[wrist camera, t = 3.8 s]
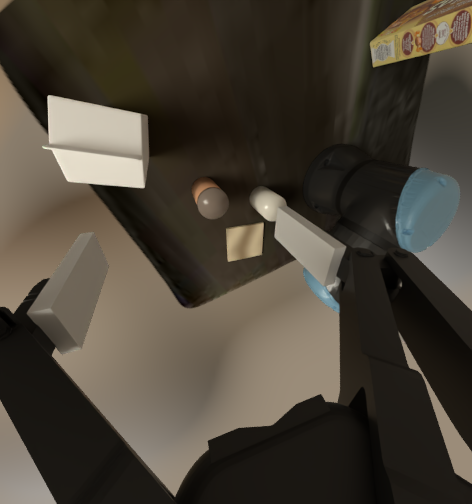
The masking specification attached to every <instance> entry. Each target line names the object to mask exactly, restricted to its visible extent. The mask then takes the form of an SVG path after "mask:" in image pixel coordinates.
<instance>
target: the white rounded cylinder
mask: <svg viewBox="0 0 472 504" xmlns="http://www.w3.org/2000/svg"><path fill="white" fill-rule="evenodd" d="M249 201H250V204H251V206H252V207H253V208H255V209H256V210H257V211H258V212H259V213H260V214H261V215H262V216H263V217H264V218H265V219H267V220H268V221H276V218H277V209H278V207H281V206H287V205H286V201H285V199H284V198H282V197H281V196H279V195H278V194H276V193H274V192H273V191H271V190H270V189H268V188H266V187H264V186H259V187H256V188H255V189H254V190H253V191H252V192H251V194H250V198H249Z"/></svg>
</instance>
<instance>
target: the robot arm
mask: <svg viewBox="0 0 472 504" xmlns="http://www.w3.org/2000/svg"><path fill="white" fill-rule="evenodd" d="M303 196H304V199H305V202H306V203H307V205H308V206H309V207H310V208H312V209H313V210H315V211H317V212H319V213H322V214H331V215H341V216H342V217H341V218H340V220H339V221H338V222H337V223H336V225H335V226H334V227H333V229H332V230H331V231H330V232H327V231H325V230H322V229H320V228H318V227H317V226H315V225H314V224H312V223H311V222H309V221H308V220H306V219H305V218H303V217H302V216H301V215H299V214H298V213H296V212H295V211H293V210H292V209H290V208H289V207H287V206H281V207H278V209H277V218H276V228H275V238H276V239H277V240H278V241H279V242H280V243H281V244H282V245H283V246H284V247H285V248H286V249H287V250H288V251H289V252H290V253H291V254H292V255H293V256H294V257H295V258H296V259H297V260H298V261H299V262H300V263H301V264H302V265H303V266H304V271H303V273H304V277H305V280H306V282H307V284H308V286H309V287H310V289H311V290H312V291H313V292H314V293H315V295H316V296H317V297H318V298H319V299H320V300H321V301H322V302H323V303H325V304H326V305H327V306H329V307H331V308H332V309H333V310H334V311H336V312H338V313H339V316H340V394H339V399H338V403H334V402H325V400H324V398H323V397H322V395H321V394H320V395H317V396H315V397H313V398H310V399H308V400H305V401H303V402H301V403H298V404H296V405H295V406H294V407H293V408H291V409H290V410H289V411H288V412H287V413H286V414H285V415H284V416H283V417H282V418H280V419H279V420H278V421H277V422H276V423H275V424H274V425H271V426H262V427H248V428H247V427H246V428H238V429H235V430H233V431H230V432H228V433H225V434H223V435H221V436H218V437H216V438H213V439H211V440H209V441H208V446H209V450H208V451H206V452H205V453H204V454H203V455H202V456H201V457H200V458H199V459H198V460H197V461H196V462H195V463H194V465H193V466H192V468H191V469H190V470H189V472H188V473H187V475H186V477H185V478H184V480H183V482H182V484H181V486H180V488H179V490H178V492H177V494H176V497H174V496H173V494H172V493H171V492H170V491H169V490H168V489H167V488H166V486H165V485H164V484H163V483H162V482H161V481H160V480H159V478H158V477H157V476H156V475H155V474H154V473H153V472H152V471H151V470H150V468H149V467H148V466H147V465H146V464H145V463H144V461H143V460H142V459H141V458H140V457H139V456H138V455H137V453H136V452H135V451H134V450H133V449H132V448H131V447H130V445H129V444H128V443H127V442H126V441H125V440H124V438H123V437H122V436H121V435H120V434H119V433H118V432H117V430H116V429H115V428H114V427H113V426H112V425H111V423H110V422H109V421H108V420H107V419H106V418H105V417H104V416H103V414H102V413H101V412H100V411H99V410H98V409H97V407H96V406H95V405H94V404H93V403H92V402H91V401H90V399H89V398H88V397H87V396H86V395H85V394H84V392H83V391H82V390H81V389H80V388H79V387H78V386H77V384H76V383H75V382H74V381H73V380H72V379H71V377H70V376H69V375H68V374H67V373H66V372H65V371H64V369H63V368H62V367H61V366H60V365H59V364H58V363H57V361H56V360H55V359H54V358H53V357H52V353H53V351H54V349H55V347H56V348H57V349H58V351H59V352H60V353H61V354H66V353H70V352H73V351H77V350H81V349H82V346H83V343H84V339H85V337H86V333H87V331H88V328H89V325H90V322H91V319H92V316H93V313H94V310H95V307H96V304H97V301H98V298H99V295H100V292H101V289H102V286H103V283H104V280H105V277H106V274H107V271H108V268H109V265H108V263H107V260H106V258H105V256H104V254H103V251H102V249H101V247H100V245H99V243H98V240H97V238H96V236H95V233H94V232H90V233H82V234H80V235H79V236H78V238H77V240H76V241H75V242H74V244H73V245H72V247H71V248H70V250H69V251H68V253H67V254H66V256H65V257H64V259H63V260H62V262H61V263H60V264H59V266H58V267H57V269H56V270H55V272H54V273H53V275H52V276H51V278H48V279H43V280H42V281H41V282H39V283H38V284H37V285H35V286H34V287H33V288H32V290H31V291H30V292H29V294H28V296H26V298H25V299H24V300H23V303H21V305H20V306H19V307H18V308H17V310H16V311H15V313H14V314H13V313H11V311H10V310H9V309H8V308H6V307H0V400H1V402H2V404H3V406H4V407H5V409H6V411H7V413H8V415H9V417H10V419H11V420H12V422H13V424H14V426H15V428H16V429H17V431H18V433H19V435H20V437H21V439H22V441H23V442H24V444H25V446H26V448H27V450H28V452H29V453H30V455H31V457H32V459H33V461H34V463H35V465H36V466H37V468H38V470H39V472H40V474H41V475H42V477H43V479H44V481H45V483H46V485H47V487H48V488H49V490H50V492H51V494H52V496H53V497H54V499H55V501H56V503H57V504H472V484H471V483H469V482H468V481H466V480H465V479H463V478H461V477H460V476H458V475H457V474H455V473H454V469H453V467H452V463H451V460H450V457H449V454H448V451H447V448H446V445H445V442H444V439H443V436H442V433H441V430H440V427H439V424H438V421H437V418H436V415H435V412H434V409H433V406H432V403H431V400H430V397H429V394H428V391H427V387H426V384H425V381H424V379H423V377H422V375H421V374H420V373H419V372H418V371H416V370H413V369H410V368H409V366H408V364H407V360H406V357H405V353H404V350H403V346H402V343H401V341H403V342H404V343H405V344H407V347H408V348H409V350H410V352H411V353H412V355H413V357H414V359H415V360H416V362H417V364H418V365H419V367H420V369H421V371H422V372H423V374H424V376H425V377H426V379H427V381H428V382H429V384H430V386H431V388H432V389H433V391H434V392H435V395H436V396H437V398H438V400H439V401H440V403H441V405H442V407H443V408H444V410H445V412H446V413H447V415H448V417H449V418H450V420H451V422H452V423H453V424H454V426H455V428H456V429H457V431H458V432H459V434H460V435H461V437H462V438H463V440H464V441H465V443H466V444H467V445H468V447H469V448H470V450H471V451H472V311H471V310H470V309H469V308H468V307H467V306H466V305H465V304H464V303H463V302H462V301H461V300H460V299H459V298H458V297H457V296H456V295H455V294H454V293H453V292H452V291H451V290H450V289H449V288H448V287H447V286H446V285H445V284H444V283H443V282H442V281H440V280H439V279H438V278H437V277H436V276H435V275H434V274H433V273H432V272H431V271H430V270H429V269H428V268H427V267H426V266H425V265H424V264H423V263H422V262H421V261H420V260H419V259H418V258H417V257H416V256H415V255H414V254H413V253H411V252H415V253H416V252H421V251H423V250H425V249H426V248H427V247H429V246H431V245H433V244H434V243H435V242H436V241H437V240H438V239H439V238H440V237H441V236H442V234H443V233H444V232H445V230H446V229H447V228H448V226H449V224H450V223H451V221H452V219H453V217H454V215H455V213H456V211H457V208H458V204H459V200H460V188H459V185H458V183H457V181H456V180H455V179H454V178H453V177H451V176H449V175H445V174H442V173H438V172H434V171H431V170H429V169H427V168H417V167H411V166H406V165H400V164H395V163H390V162H384V161H378V160H373V159H372V158H370V157H369V156H368V155H366V154H365V153H364V152H362V151H361V150H360V149H358V148H357V147H355V146H352V145H345V144H337V145H333V146H331V147H329V148H327V149H325V150H324V151H323V152H321V153H320V154H319V155H318V156H317V157H316V158H315V160H314V161H313V162H312V164H311V165H310V167H309V169H308V171H307V173H306V176H305V179H304V183H303Z"/></svg>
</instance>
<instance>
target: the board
mask: <svg viewBox="0 0 472 504" xmlns="http://www.w3.org/2000/svg"><path fill="white" fill-rule="evenodd" d="M263 228H264V223H263V222H260V223H254V224H248V225H242V226H236V227H230V228H226V234H227V254H228V262H230V261H234V260H239V259H244V258H249V257H253V256H258V255H262V244H263Z"/></svg>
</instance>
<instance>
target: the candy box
mask: <svg viewBox="0 0 472 504" xmlns="http://www.w3.org/2000/svg"><path fill="white" fill-rule="evenodd" d="M467 44H472V0H427V1H425V2H423V3H421V4H418V5H416V6H414V7H412V8H411V9H409V10H408V11H407V12H406V13H405V14H403V15H402V16H401V17H400V18H399V19H397V20H396V21H395V22H394V23H392V24H391V25H390V26H389V27H388V28H387V29H385V30H384V31H383V32H382V33H381V34H379V35H378V36H377V37H376V38H375V39H374V40H372V41H371V42H370V48H371V56H372V64H373V67H377V66H381V65H385V64H389V63H394V62H398V61H402V60H406V59H410V58H414V57H418V56H422V55H426V54H430V53H434V52H438V51H442V50H446V49H450V48H454V47H459V46H463V45H467Z"/></svg>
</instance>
